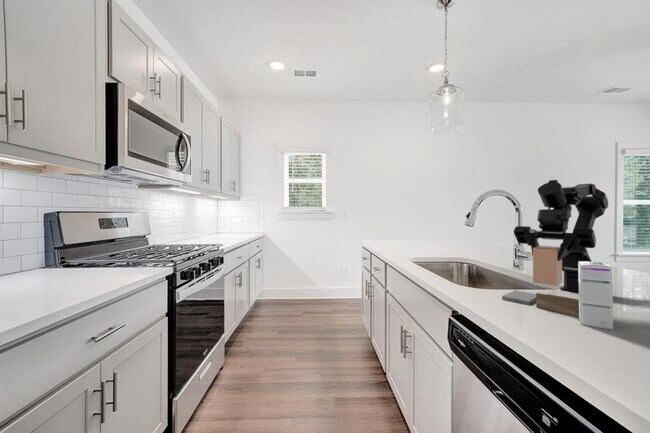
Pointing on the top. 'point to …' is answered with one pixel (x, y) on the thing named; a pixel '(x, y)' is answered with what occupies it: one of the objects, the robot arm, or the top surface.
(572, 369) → the top surface
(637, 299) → the top surface
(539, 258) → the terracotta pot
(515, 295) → the slate tile
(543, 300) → the frame
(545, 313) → the top surface
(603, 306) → the syrup box
